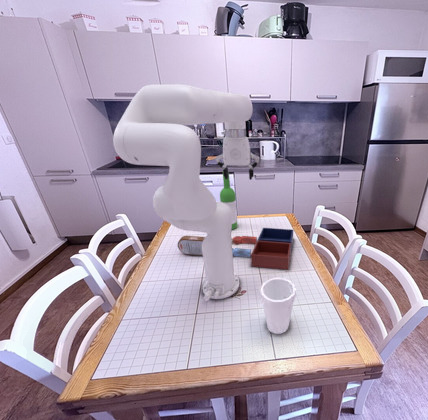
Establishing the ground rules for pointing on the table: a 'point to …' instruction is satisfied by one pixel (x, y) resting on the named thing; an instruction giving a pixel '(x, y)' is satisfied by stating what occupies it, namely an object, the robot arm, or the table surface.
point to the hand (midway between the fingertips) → (238, 178)
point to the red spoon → (245, 239)
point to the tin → (191, 245)
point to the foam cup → (278, 303)
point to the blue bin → (276, 235)
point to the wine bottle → (229, 200)
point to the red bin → (271, 255)
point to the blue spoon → (241, 252)
